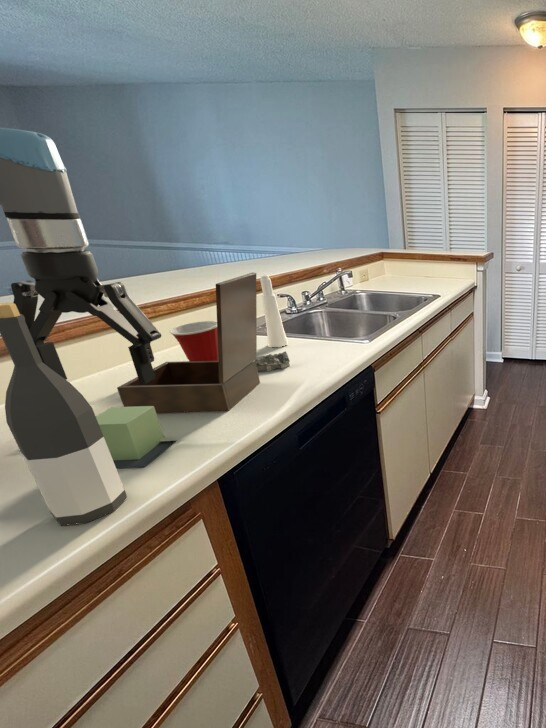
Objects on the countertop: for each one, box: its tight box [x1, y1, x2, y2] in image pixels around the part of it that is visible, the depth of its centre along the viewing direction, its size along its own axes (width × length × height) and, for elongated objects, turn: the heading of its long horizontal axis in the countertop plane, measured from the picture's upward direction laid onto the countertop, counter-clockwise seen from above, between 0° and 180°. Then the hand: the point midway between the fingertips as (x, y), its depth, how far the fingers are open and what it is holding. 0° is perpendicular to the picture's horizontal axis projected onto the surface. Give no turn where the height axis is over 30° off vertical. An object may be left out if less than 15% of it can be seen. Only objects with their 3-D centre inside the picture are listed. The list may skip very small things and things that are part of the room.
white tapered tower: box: [259, 274, 290, 348], centre depth 131 cm, size 6×6×22 cm
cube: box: [95, 406, 165, 460], centre depth 74 cm, size 7×7×7 cm
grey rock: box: [255, 351, 291, 373], centre depth 114 cm, size 11×8×4 cm
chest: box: [116, 360, 261, 414], centre depth 95 cm, size 20×16×7 cm
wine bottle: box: [0, 302, 128, 527], centre depth 56 cm, size 8×8×30 cm
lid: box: [215, 272, 258, 383], centre depth 91 cm, size 21×16×1 cm
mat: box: [113, 440, 177, 470], centre depth 76 cm, size 11×11×1 cm
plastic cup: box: [169, 320, 218, 361], centre depth 113 cm, size 11×11×12 cm
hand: (103, 381), depth 71 cm, fingers open, 13 cm apart
